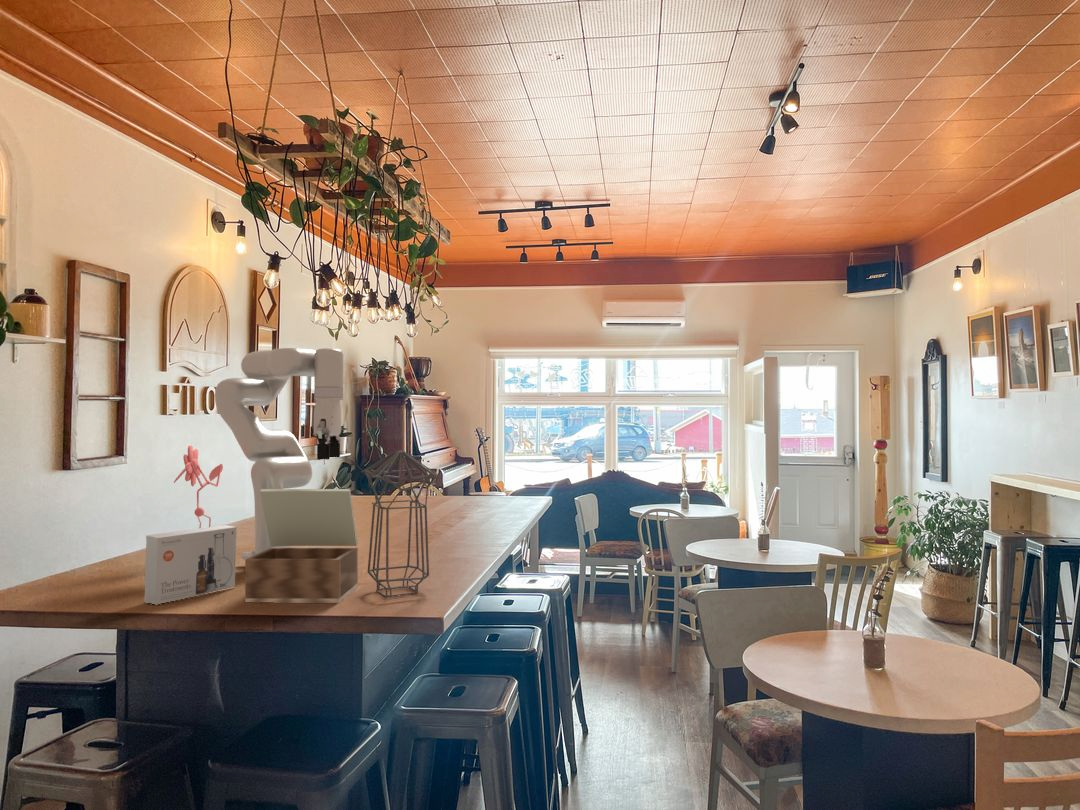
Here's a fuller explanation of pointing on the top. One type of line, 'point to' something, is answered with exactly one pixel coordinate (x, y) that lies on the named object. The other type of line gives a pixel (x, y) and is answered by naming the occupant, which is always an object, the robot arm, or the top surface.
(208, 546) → the skincare box
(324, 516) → the lid
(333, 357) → the robot arm
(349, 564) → the walnut box
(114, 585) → the top surface
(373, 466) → the geometric lantern
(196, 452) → the figurine
